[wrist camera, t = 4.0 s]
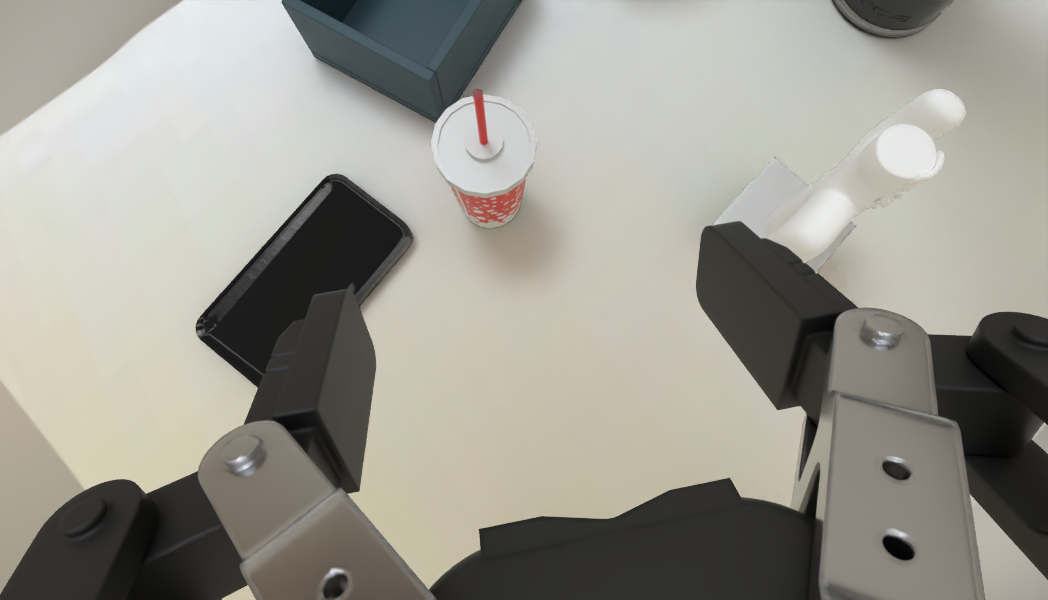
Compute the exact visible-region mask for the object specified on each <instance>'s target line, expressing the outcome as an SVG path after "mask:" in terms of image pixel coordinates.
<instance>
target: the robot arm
mask: <svg viewBox="0 0 1048 600" xmlns="http://www.w3.org/2000/svg"><path fill="white" fill-rule="evenodd" d="M834 1H835V3H836V5H837V6H838V8H839V9H840V11H841V12H842V13H843V14H844V16H845V17H846V18H847V19H848V20H850V21H851V22H852V23H853V24H855V25H856V26H858V27H859V28H861V29H863V30H865V31H867V32H869V33H872V34H875V35H879V36H884V37H903V36H908V35H912V34H914V33H917V32H919V31H921V30H922V29H924V28H925V27H927V26H928V25H929V24H930V23H931V22H933V21H934V20H935V19H936V18H937V17H938V16H939V15H940V14H941V12H942V11H943V10H945V9H946V8H947V7H948V6H949V5H950V4H951V3H953V2H954V1H955V0H834ZM696 291H697V296H698V300H699V303H700V305H701V307H702V309H703V310H704V312H705V313H706V314H707V316H708V317H709V319H710V320H711V321H712V323H713V324H714V325H715V327H716V328H717V329H718V331H719V332H720V333H721V335H722V336H723V337H724V339H725V340H726V341H727V343H728V344H729V345H730V347H731V348H732V349H733V351H734V352H735V354H736V355H737V356H738V358H739V359H740V360H741V362H742V363H743V364H744V366H745V367H746V368H747V370H748V371H749V372H750V374H751V375H752V376H753V378H754V379H755V380H756V382H757V383H758V385H759V386H760V387H761V389H762V390H763V391H764V393H765V394H766V395H767V397H768V398H769V399H770V401H771V402H772V403H773V405H774V406H775V407H776V409H777V410H781V409H786V408H791V407H796V406H801V407H802V408H803V409H804V411H805V412H806V415H805V418H804V421H803V425H802V432H801V439H800V446H799V453H798V460H797V467H796V474H795V481H794V488H793V495H792V500H791V505H790V508H788V507H786V506H783V505H780V504H776V503H772V502H769V501H765V500H759V499H752V498H743V497H740V495H739V493H738V492H737V490H736V488H735V486H734V484H733V483H732V481H731V479H730V478H727V479H722V480H718V481H713V482H708V483H703V484H698V485H693V486H688V487H683V488H678V489H673V490H669V491H667V492H665V493H663V494H661V495H659V496H657V497H655V498H653V499H651V500H649V501H647V502H645V503H643V504H641V505H639V506H637V507H635V508H633V509H631V510H629V511H627V512H625V513H623V514H621V515H619V516H617V517H614V518H611V519H590V518H568V517H545V516H541V517H536V518H531V519H527V520H522V521H517V522H512V523H507V524H502V525H497V526H492V527H487V528H483V529H479V534H480V547H481V550H479V551H477V552H475V553H473V554H471V555H469V556H468V557H466V558H465V559H463V560H462V561H460V562H459V563H457V564H456V565H454V566H453V567H452V568H451V569H450V570H448V571H447V572H446V573H445V574H443V575H442V576H441V577H440V578H439V579H438V580H437V581H436V582H435V584H434V585H433V586H432V587H431V588H430V589H429V590H428V589H427V587H426V586H425V585H424V584H423V583H422V582H421V580H420V579H419V578H418V577H417V576H416V574H415V573H414V572H413V571H412V570H411V569H410V567H409V566H408V565H407V564H406V563H405V562H404V560H403V559H402V558H401V557H400V556H399V554H398V553H397V552H396V551H395V550H394V549H393V547H392V546H391V545H390V544H389V543H388V542H387V540H386V539H385V538H384V537H383V536H382V535H381V533H380V532H379V531H378V530H377V529H376V527H375V526H374V525H373V524H372V523H371V522H370V520H369V519H368V518H367V517H366V516H365V515H364V513H363V512H362V511H361V510H360V509H359V508H358V506H357V505H356V504H355V503H354V502H353V500H352V499H351V498H350V497H349V496H348V495H347V494H348V493H353V492H358V491H359V490H360V483H361V475H362V468H363V461H364V453H365V446H366V438H367V431H368V424H369V416H370V409H371V401H372V394H373V386H374V379H375V372H376V356H375V350H374V346H373V342H372V340H371V337H370V334H369V332H368V329H367V327H366V324H365V321H364V319H363V316H362V314H361V311H360V308H359V306H358V303H357V301H356V298H355V296H354V294H353V292H352V291H351V290H350V289H343V290H338V291H332V292H326V293H321V294H315V295H314V296H313V297H312V300H311V303H310V306H309V309H308V311H307V314H306V317H305V319H303V320H297V321H293V322H292V323H291V325H290V326H289V327H288V328H287V329H286V330H285V331H284V332H283V333H282V334H281V335H280V336H279V338H278V339H277V342H276V344H275V347H274V349H273V352H272V354H271V357H272V359H270V360H269V362H268V365H267V367H266V370H265V371H266V374H264V375H263V377H262V380H261V382H260V385H259V387H258V390H257V392H256V395H255V397H254V400H253V403H252V405H251V408H250V410H249V413H248V415H247V418H246V420H245V423H244V425H243V426H240V427H238V428H236V429H234V430H232V431H231V432H229V433H227V434H226V435H224V436H223V437H222V438H220V439H219V440H218V441H217V442H216V443H215V444H214V445H213V446H212V447H211V448H210V449H209V450H208V451H207V453H206V454H205V455H204V457H203V459H202V461H201V463H200V465H199V469H198V471H197V472H195V473H193V474H191V475H189V476H186V477H184V478H182V479H179V480H177V481H175V482H172V483H170V484H168V485H166V486H163V487H161V488H159V489H156V490H154V491H152V492H150V493H147V494H146V493H145V492H144V491H143V490H142V489H141V488H140V487H139V486H138V485H137V484H136V483H135V482H132V481H130V480H125V479H119V480H112V481H107V482H104V483H101V484H98V485H96V486H93V487H91V488H89V489H87V490H85V491H83V492H82V493H80V494H78V495H77V496H75V497H74V498H72V499H71V500H70V501H68V502H67V503H65V504H64V505H63V506H62V507H61V508H59V509H58V510H57V511H56V512H55V513H54V514H53V515H52V516H51V517H50V518H49V519H48V520H47V521H46V523H45V524H44V525H43V527H42V528H41V529H40V531H39V532H38V534H37V535H36V537H35V539H34V540H33V542H32V544H31V545H30V547H29V548H28V550H27V552H26V553H25V555H24V557H23V558H22V560H21V562H20V563H19V565H18V566H17V568H16V570H15V571H14V573H13V574H12V576H11V578H10V579H9V581H8V583H7V584H6V586H5V588H4V589H3V591H2V593H1V594H0V600H222V598H224V597H226V596H228V595H229V594H231V593H233V592H235V591H237V590H239V589H241V588H243V587H245V586H247V585H248V586H249V587H250V589H251V591H252V593H253V595H254V597H255V599H256V600H985V594H984V587H983V580H982V573H981V567H980V560H979V554H978V546H977V540H976V533H975V527H974V519H973V513H972V506H971V499H970V494H971V495H972V497H973V498H974V499H975V500H976V501H977V502H978V503H979V504H980V505H981V506H982V508H983V509H984V510H985V511H986V512H987V513H988V514H989V515H990V517H991V518H992V519H993V520H994V521H995V522H996V523H997V524H998V525H999V526H1000V528H1001V529H1002V530H1003V531H1004V532H1005V533H1006V534H1007V535H1008V536H1009V538H1010V539H1011V540H1012V541H1013V542H1014V543H1015V544H1016V545H1017V546H1018V547H1019V549H1020V550H1021V551H1022V552H1023V553H1024V554H1025V555H1026V556H1027V557H1028V559H1029V560H1030V561H1031V562H1032V563H1033V564H1034V565H1035V566H1036V567H1037V568H1038V570H1039V571H1040V572H1041V573H1042V574H1043V575H1044V576H1045V577H1046V578H1047V580H1048V454H1047V453H1046V452H1045V451H1044V450H1043V449H1042V448H1041V447H1039V446H1038V445H1037V444H1036V443H1035V442H1034V441H1033V440H1032V438H1033V436H1034V435H1035V434H1036V432H1037V431H1038V430H1039V428H1040V427H1041V426H1042V424H1043V423H1044V422H1045V423H1046V424H1047V425H1048V319H1046V318H1043V317H1039V316H1035V315H1031V314H1026V313H1018V312H997V313H993V314H990V315H987V316H985V317H984V318H982V320H981V321H980V323H979V325H978V327H977V328H976V330H975V332H974V334H973V336H956V335H930V334H927V333H926V332H925V331H924V330H923V328H921V327H920V326H919V325H918V324H917V323H915V322H913V321H912V320H910V319H908V318H906V317H904V316H902V315H899V314H897V313H894V312H890V311H887V310H882V309H875V308H858V307H857V306H856V305H854V304H853V303H852V302H851V301H850V300H849V299H847V298H846V297H845V296H844V295H843V294H842V293H840V292H839V291H838V290H837V289H836V288H834V287H833V286H832V285H831V284H830V283H829V282H827V281H826V280H825V279H824V278H823V277H822V276H820V275H819V274H815V271H814V270H813V269H812V268H811V267H810V266H809V265H807V264H806V263H803V262H802V259H800V258H799V257H798V256H797V255H796V254H795V253H793V252H792V251H791V250H790V249H789V248H787V247H785V246H783V245H781V244H778V243H776V242H774V241H772V240H769V239H767V238H762V239H761V238H760V237H759V236H757V235H756V234H755V233H754V232H753V231H752V230H751V229H750V228H748V227H747V226H746V225H745V224H744V223H743V222H741V221H735V222H729V223H723V224H718V225H712V226H707V227H705V228H704V230H703V232H702V235H701V242H700V252H699V261H698V270H697V280H696Z"/></svg>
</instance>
